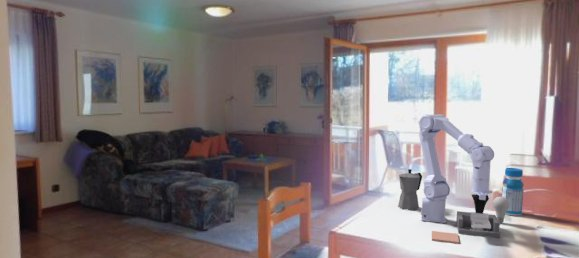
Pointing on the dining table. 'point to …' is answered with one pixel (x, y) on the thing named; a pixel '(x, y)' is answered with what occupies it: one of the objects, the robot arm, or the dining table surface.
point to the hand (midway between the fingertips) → (479, 214)
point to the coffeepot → (409, 190)
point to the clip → (480, 220)
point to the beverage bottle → (513, 190)
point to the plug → (477, 228)
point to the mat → (445, 237)
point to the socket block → (465, 222)
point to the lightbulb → (500, 207)
